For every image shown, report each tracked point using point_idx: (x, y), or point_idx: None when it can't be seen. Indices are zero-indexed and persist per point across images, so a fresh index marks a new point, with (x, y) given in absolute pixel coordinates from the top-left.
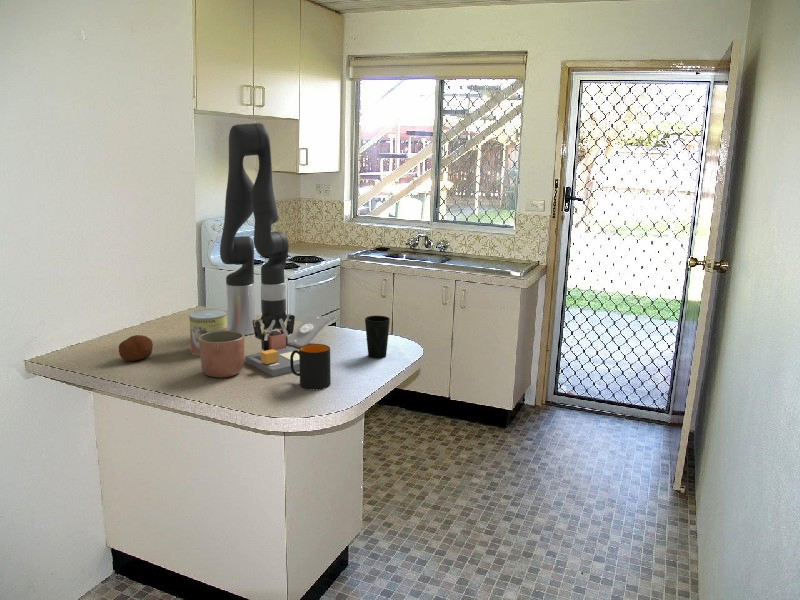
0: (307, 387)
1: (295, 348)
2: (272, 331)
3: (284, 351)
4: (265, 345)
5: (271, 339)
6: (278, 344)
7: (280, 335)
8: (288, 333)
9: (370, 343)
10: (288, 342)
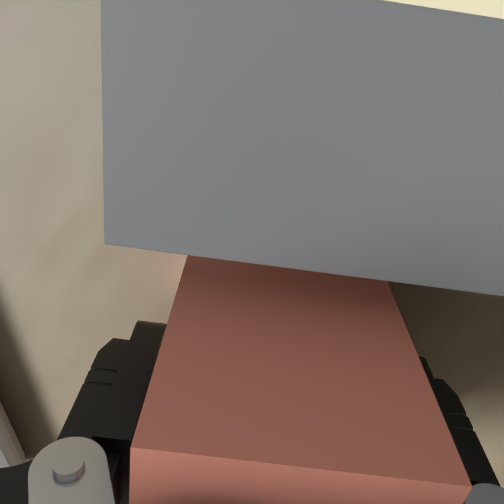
0: None
1: (109, 131)
2: None
3: (353, 129)
4: None
5: (457, 451)
6: (302, 346)
7: (247, 472)
8: (8, 488)
9: None
10: (1, 440)
